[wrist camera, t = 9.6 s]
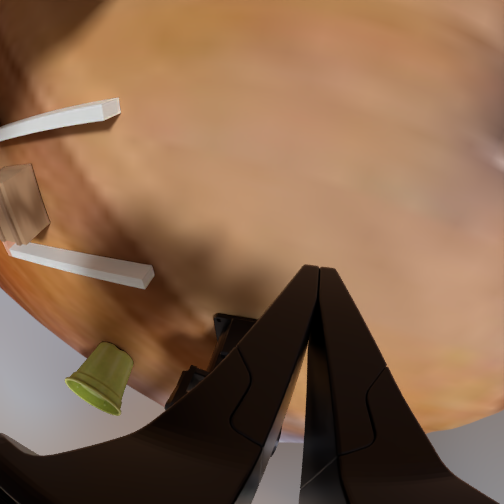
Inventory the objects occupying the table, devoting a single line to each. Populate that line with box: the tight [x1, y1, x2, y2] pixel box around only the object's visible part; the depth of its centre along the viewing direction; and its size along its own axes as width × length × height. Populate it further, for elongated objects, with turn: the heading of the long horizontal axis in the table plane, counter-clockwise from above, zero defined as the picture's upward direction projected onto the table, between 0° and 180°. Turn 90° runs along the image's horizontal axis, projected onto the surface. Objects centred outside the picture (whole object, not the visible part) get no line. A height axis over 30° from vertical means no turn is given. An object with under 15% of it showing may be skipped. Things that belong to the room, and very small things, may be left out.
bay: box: [0, 98, 154, 289], centre depth 24 cm, size 16×23×2 cm
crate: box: [0, 164, 50, 246], centre depth 24 cm, size 7×6×4 cm
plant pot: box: [65, 342, 133, 416], centre depth 38 cm, size 9×9×9 cm
